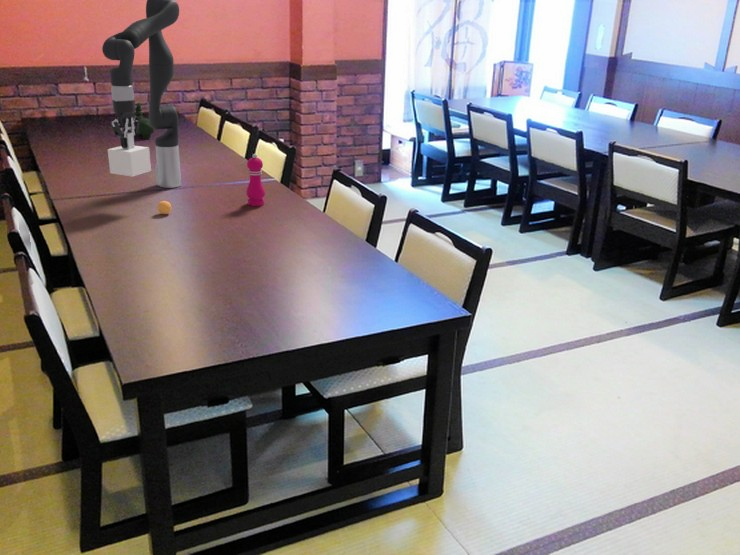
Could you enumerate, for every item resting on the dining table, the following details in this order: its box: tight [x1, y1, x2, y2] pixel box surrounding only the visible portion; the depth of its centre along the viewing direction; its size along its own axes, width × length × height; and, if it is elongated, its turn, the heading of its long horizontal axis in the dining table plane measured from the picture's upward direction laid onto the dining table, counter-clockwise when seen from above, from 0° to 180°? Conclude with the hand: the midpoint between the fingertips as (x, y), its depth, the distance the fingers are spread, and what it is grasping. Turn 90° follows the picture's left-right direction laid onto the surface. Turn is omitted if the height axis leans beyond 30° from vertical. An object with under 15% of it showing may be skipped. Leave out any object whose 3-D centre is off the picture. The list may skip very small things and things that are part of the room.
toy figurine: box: [134, 102, 155, 140], centre depth 381 cm, size 9×19×25 cm
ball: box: [156, 200, 172, 215], centre depth 252 cm, size 5×5×5 cm
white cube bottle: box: [107, 132, 152, 178], centre depth 250 cm, size 10×10×14 cm
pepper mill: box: [246, 153, 266, 207], centre depth 266 cm, size 7×7×20 cm
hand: (128, 146), depth 249 cm, fingers closed on white cube bottle, 3 cm apart
